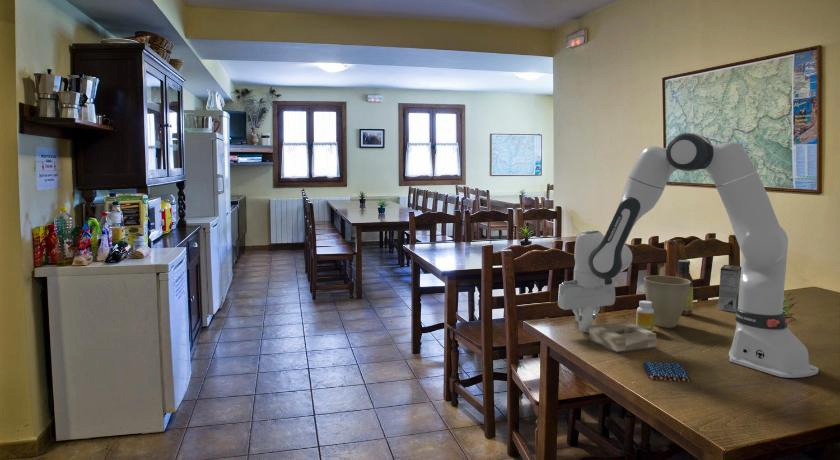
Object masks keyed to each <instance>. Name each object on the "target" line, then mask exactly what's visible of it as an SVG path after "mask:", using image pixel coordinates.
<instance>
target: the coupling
mask: <svg viewBox="0 0 840 460" xmlns="http://www.w3.org/2000/svg"><path fill="white" fill-rule="evenodd" d="M593 310H594V308H593V305H591V306H586V308H580V311H579V312H578V313H579V315H580V316H582V321H578V322H577V327H578V331H579V332H581V333H586V334H587V333H588V334H589V326H592V325H594V320H593Z"/></svg>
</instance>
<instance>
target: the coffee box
mask: <svg viewBox="0 0 840 460" xmlns="http://www.w3.org/2000/svg"><path fill="white" fill-rule="evenodd" d="M741 267H742V266H740V265H737V266H736V265H733V264H732V265H729V264H724V265H722V267H721V268H720V273H719V274H720V275H719V289H718V290H719V292H718V307H717V308H718V310H720V311H725V312H726V311H727V312H733V313H736V308H737V307H738V300H739V284H740V275H741Z"/></svg>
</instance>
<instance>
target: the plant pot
mask: <svg viewBox="0 0 840 460" xmlns="http://www.w3.org/2000/svg"><path fill="white" fill-rule="evenodd" d="M643 283H644V293H645V298H646V300H645V301H650V302H652V307H651V308H652V309H653V310H654V322H653V326H656V327H660V328H675V327H676V326H677V324H678V322H679V320H680V318H681V314H682V311H683V309H684V306H685V303H686V300H687V296H688V293H689V288H690V284H691V281H689V280H687V279H684V278H679V277H676V276H671V275H670V276H669V275H648V276H644V277H643Z"/></svg>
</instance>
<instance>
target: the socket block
mask: <svg viewBox="0 0 840 460" xmlns="http://www.w3.org/2000/svg"><path fill="white" fill-rule="evenodd" d="M588 340H589V341H590V342H593V343H595V344H597V345H599V346H600V347H603V348H604V349H607V350H609V351H611V352H613V353H615V354H624V353H631V352H638V351H640V352H641V351H648V350H655V349H656V348H657V346H656V345H657V333H655V332H653V331H652V332H651V331H648V330H646V329H643V328H641V327H638V326H636V324H633V323H631V322H627V321H622V322H620V321H619V322H613V323H603V324H593V325H592V326H589V333H588Z"/></svg>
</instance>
